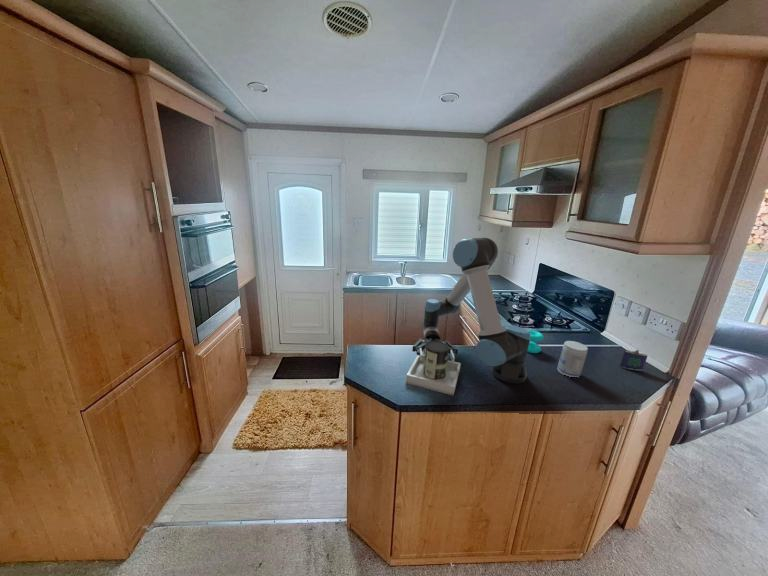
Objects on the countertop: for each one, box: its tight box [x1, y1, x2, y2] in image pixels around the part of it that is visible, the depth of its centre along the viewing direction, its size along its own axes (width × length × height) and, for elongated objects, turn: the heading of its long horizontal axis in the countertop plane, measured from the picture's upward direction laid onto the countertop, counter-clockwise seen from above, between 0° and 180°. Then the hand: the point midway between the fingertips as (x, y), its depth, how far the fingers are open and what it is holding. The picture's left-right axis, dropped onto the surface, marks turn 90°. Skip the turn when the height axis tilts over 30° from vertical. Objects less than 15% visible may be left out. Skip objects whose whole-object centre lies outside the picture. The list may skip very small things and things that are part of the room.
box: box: [405, 353, 462, 397], centre depth 129 cm, size 20×20×4 cm
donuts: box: [526, 329, 545, 354], centre depth 158 cm, size 10×10×10 cm
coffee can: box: [423, 341, 449, 381], centre depth 127 cm, size 10×10×14 cm
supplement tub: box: [557, 340, 589, 378], centre depth 136 cm, size 10×10×15 cm
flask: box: [619, 349, 648, 370], centre depth 143 cm, size 9×3×11 cm, turn 68°
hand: (437, 359), depth 124 cm, fingers open, 13 cm apart
